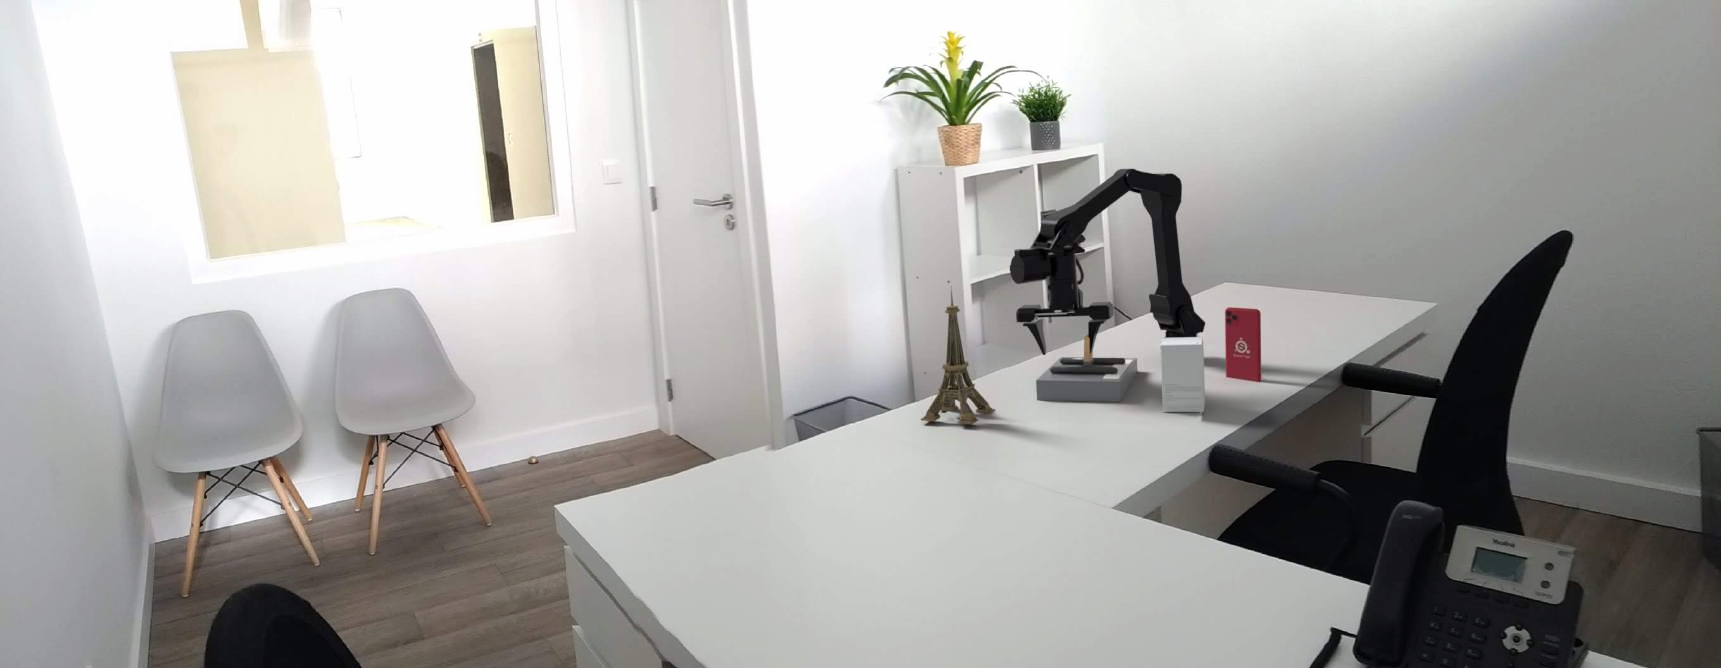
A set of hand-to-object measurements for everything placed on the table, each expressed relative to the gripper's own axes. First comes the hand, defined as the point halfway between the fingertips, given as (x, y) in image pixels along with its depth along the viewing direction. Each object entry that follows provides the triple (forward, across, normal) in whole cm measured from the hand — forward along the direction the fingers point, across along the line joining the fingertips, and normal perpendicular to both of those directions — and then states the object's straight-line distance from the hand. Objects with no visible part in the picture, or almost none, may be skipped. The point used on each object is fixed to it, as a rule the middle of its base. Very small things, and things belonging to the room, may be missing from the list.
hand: (1067, 354), depth 218 cm
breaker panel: (+7, -4, 0) cm, 8 cm away
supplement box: (+8, -24, +14) cm, 29 cm away
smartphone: (+8, -33, -7) cm, 35 cm away
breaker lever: (+3, -4, 0) cm, 5 cm away
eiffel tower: (+7, +16, +24) cm, 30 cm away
